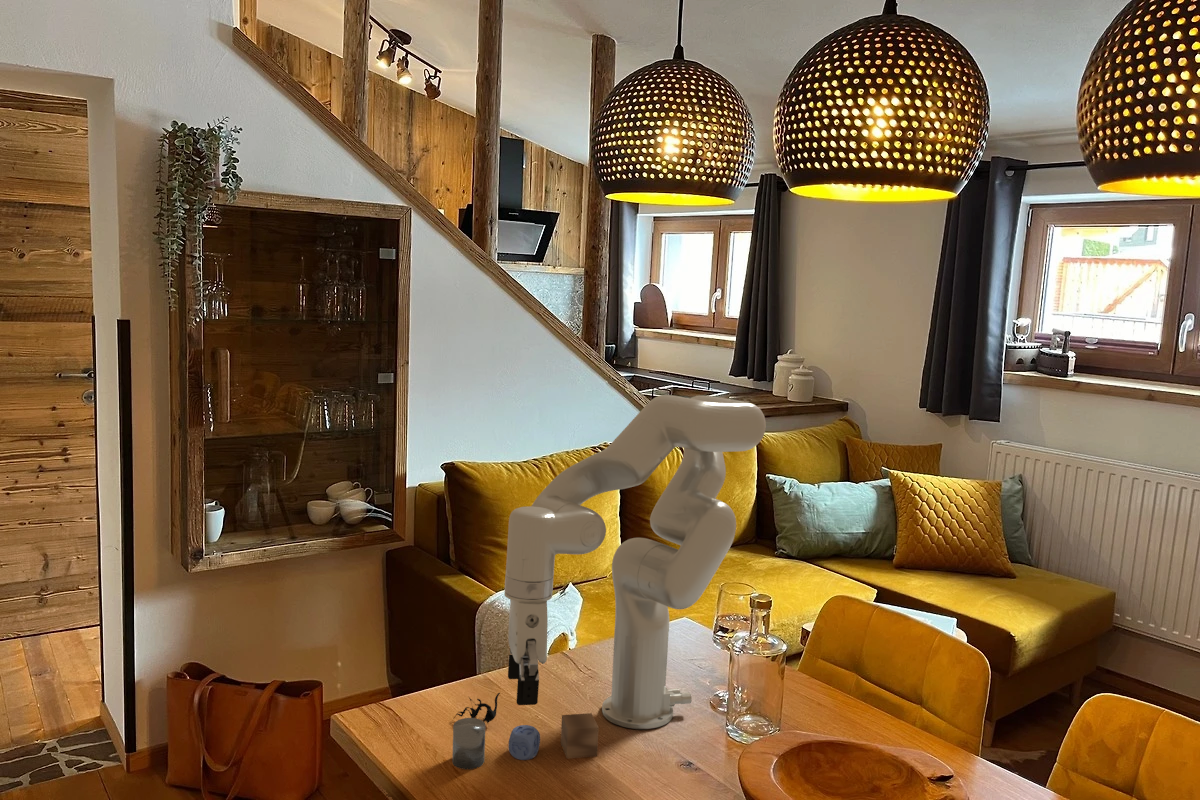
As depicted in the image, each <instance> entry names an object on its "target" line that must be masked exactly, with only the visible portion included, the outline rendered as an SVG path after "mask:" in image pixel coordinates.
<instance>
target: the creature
mask: <svg viewBox="0 0 1200 800" xmlns="http://www.w3.org/2000/svg"><path fill="white" fill-rule="evenodd" d="M500 694H501V693H500V692H498V693H497V694H496V696H495V698H494V709H492V707H491V705H489V704H487V703H482V700H481V699H479V698H477V701H478V702H479V703H477V704H476V703H475V702H473V703H474V705H475V706H477V707H476V708H474V706H473V703H472V699H471V698H470V697H468V698H469V701H470V703H471V706H472V707H469V706H467V707H464V709H463V710H462V711H458V712H457V713H456V715H455V716H454V717H453V719H455V718H456V716H459V717H460V718H461V717H463V716H464V715H465V713H466V711H468V713H469V716H470V718H476V717H477V716H478V714H479V712H480V711H482V710H483V709H482V707H485V708H486V713H485V716H484V718H483V719H482V721H484V722H486V723H487V724H489V723H490V722H492V721H493V720H494V719H495V718H496V715H497V710H498V699H499V695H500ZM471 713H472V714H471Z"/></svg>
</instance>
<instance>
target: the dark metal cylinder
mask: <svg viewBox="0 0 1200 800" xmlns="http://www.w3.org/2000/svg"><path fill="white" fill-rule="evenodd" d="M485 722H486V721H483V719H481V718H478V719H477V718H476V717H475V718H471V717H465V718H460V719H458V720H456V721H455V722H454V723H453V727H452V731H453V732H452V757H451V758H452V765H453V766H454V767H456V768H458V769H461V770H474V768H475V769H478V768H479V767H481V766H483V765H484V764H485V753H486V752H485V751H486V747H485V746H486V723H485ZM483 763H484V764H483ZM477 767H478V768H477Z"/></svg>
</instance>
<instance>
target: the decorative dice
mask: <svg viewBox="0 0 1200 800" xmlns="http://www.w3.org/2000/svg"><path fill="white" fill-rule="evenodd" d="M509 735H510V736H509V739H508V751H509V754H510V755H511V756H512V757H513V758H514V759H516V760H520V761H521V760H522V761H527V760H532V759H533V758H535V757H536V756H537V755H538V753H539V748H540V744H541V734H540V732H539V731H538V729H537V728H536V727H535V726H532V725H528V724H525V725H524V724H522V725H521V724H520V725H517V726H515V727H514V728H513V729H512V730H511V732H510V734H509Z"/></svg>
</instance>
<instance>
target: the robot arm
mask: <svg viewBox="0 0 1200 800" xmlns="http://www.w3.org/2000/svg"><path fill="white" fill-rule="evenodd" d="M766 426H767V422H766V417H765V414H764V413H763V411H762V409H761V408H760V407H758V406H757V405H756V404H754V403H751V402H747V401H743V400H742V401H741V400H737V399H729V398H726V397H719V396H718V397H717V396H713V395H712V396H711V395H696V396H695V395H694V396H693V397H684V396H678V395H672V394H661V395H658V396H655V397H654V398H652V399H651V400H649V402H648V403H646V405H645V406H644V407H643V408H642V409H641V410H640V411H639V412H638V413H637V414H636V416H634V418H633V419H632V420H631V421H630V422H629V423H628V424H627V425H626V427H625V428H624V429H623V430H622V431H621V432H620V433H619V434H618V435H617V436H616V438H614V440H613V441H612V442H611V443H610V444H609V445H608V446H607V447H605V449H603V450H600V451H599V452H596V453H594V454H592V455H589V456H587V458H584V459H582V460H580V461H578V462H576V463H574V464H573V465H571V466H569V467H567V468H566V469H564V470H563V471H561V472H560V473H559V474H558V475H557V476H555V478H554V479H552V480H551V482H550V483H548V485H547V486H546V487H545V488H544V489H543V490H542V491H541V492H540V493H539V495H537V497H536V498H535V500H534V501H533V502H532V505H530V506H521V507H516V508H515V509H513V510H512V511H511V512H510V514H509V517H508V529H507V530H508V532H507V545H506V546H507V547H506V548H507V549H506V560H505V561H506V564H505V580H504V597H506V599H509V600H510V603H509V615H508V632H507V633H508V634H507V635H508V638H507V639H508V646H509V653H510V654H509V655H508V665H507V666H508V667H507V678H508V679H509V680H517V688H516V689H517V690H516V704H517V706H533V705H534V706H535V705H537V704H538V702H539V701H538V700H539V687H540V685H539V684H540V675H539V673H540V672H539V671H540V670H539V663H540V664H542V665H544V664H546V662H547V658H548V654H547V653H548V622H549V621H548V601H550V600H551V599H552V598H553V590H554V588H553V587H554V575H555V560H556V555H558V554H559V555H585V554H590V553H591V552H594V551H595V550H597V549H598V548H599V547H601V545H602V543H604V540H605V537H606V535H607V534H606V532H607V527H606V523H605V520H604V519H603V517H602V516H601V515H600V514H599V513H598V512H596V511H595V510H593V509H591V508H589V507H587V506H584V505H582V504H583V503H585V502H586V501H588V500H589V499H591V498H593V497H595V496H598V495H600V494H603V493H607V492H612V491H619V490H625V489H629V488H632V487H637V486H639V485H642V484H643V483H645V482H646V481H647V480H648V479H649V477H650V476H651V475H652V474H653V473H654V472H655V470H656V469H657V468H658V467H659V465H661V464H662V462H663V461H664V460H665V459H666V457H668V455H669V454H670V453H671V452H672V451H673V450H674V449H675V448H677V447H678V448H683V455H682V460H681V462H680V464H679V466H678V468H677V470H676V472H675V473H674V474H673V476H672V478H671V479H670V480H669V483H668V484H667V485H666V487H665V489H664V491H663V492H662V493H661V495H660V497H659V499H658V500H657V502H655V503H656V504H655V506H654V507H653V509H652V512H651V514H650V516H649V524H650V528H651V529H652V531H653V532H654V534H655V535H657V536H658V537H660V538H662V539H663V540H665V541H667V542H671V543H673V544H676V545H679V546H680V547H679V548H678V549H677V548H675V547H672V546H669V545H667V544H664V543H662V542H658V541H656V540H653V539H649V538H646V537H633V538H628V539H627V540H625V541H623V542H622V543H621V544H620V545H619V546H618V547H617V549H616V550H615V552H614V555H613V556H612V557H613V558H612V562H611V574H612V575H611V576H612V583H613V589H614V599H615V612H614V613H615V616H614V617H615V619H614V620H615V622H614V635H613V637H614V640H613V655H612V656H613V657H612V662H613V663H612V678H611V694H610V696H608V697H607V698H606V699H604V700H603V701H602V705H601V706H602V707H601V713H602V715H603V716H604V718H605V719H606V720H607V721H609V722H611V723H612V724H614V725H617V726H619V727H623V728H627V729H633V730H634V729H635V730H649V729H655V728H660V727H662V726H665V725H667V724H669V723H670V721H671V720H672V719H673V715H674V707H675V705H679V704H680V705H690V704H692V701H693V699H692V694H691V692H681V690H680V688H679V687H678V688H669V689H668V688H667V686H666V684H667V670H668V669H667V665H668V651H669V650H668V649H669V634H670V633H669V632H670V613H669V608H671V609H675V610H686V609H688V608H690V607H691V606H693V605H694V604H695V603H697V602H698V601H699V599H701V597H702V595H703V593H705V591H706V589H707V588H708V586H709V584H710V583H711V581H712V579H713V577H714V576H715V574H716V573H717V571H718V570H719V567H720V566H721V564H722V562H723V560H724V559H725V558H726V555H727V554H728V551H730V548H731V546H732V545H733V543H734V540H735V536H736V531H737V520H736V519H737V517H736V515H735V512H734V511H733V509H732V508H731V506H729V504H727V503H726V502H723V501H722V500H720V499H717V497H718V495H719V493H720V491H721V489H722V488H723V485H724V483H725V480H726V475H727V474H726V472H727V469H726V468H727V467H726V464H725V463H726V462H725V458H724V457H725V456H724V453H725V452H726V453H727V452H730V453H731V452H746V451H748V450H749V451H750V450H751V449H753V448H755V447H756V446H757V445H758V444H760V442H761V441H762V440H763V438H764V436H765V434H766V433H765V432H766V428H767V427H766Z"/></svg>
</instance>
